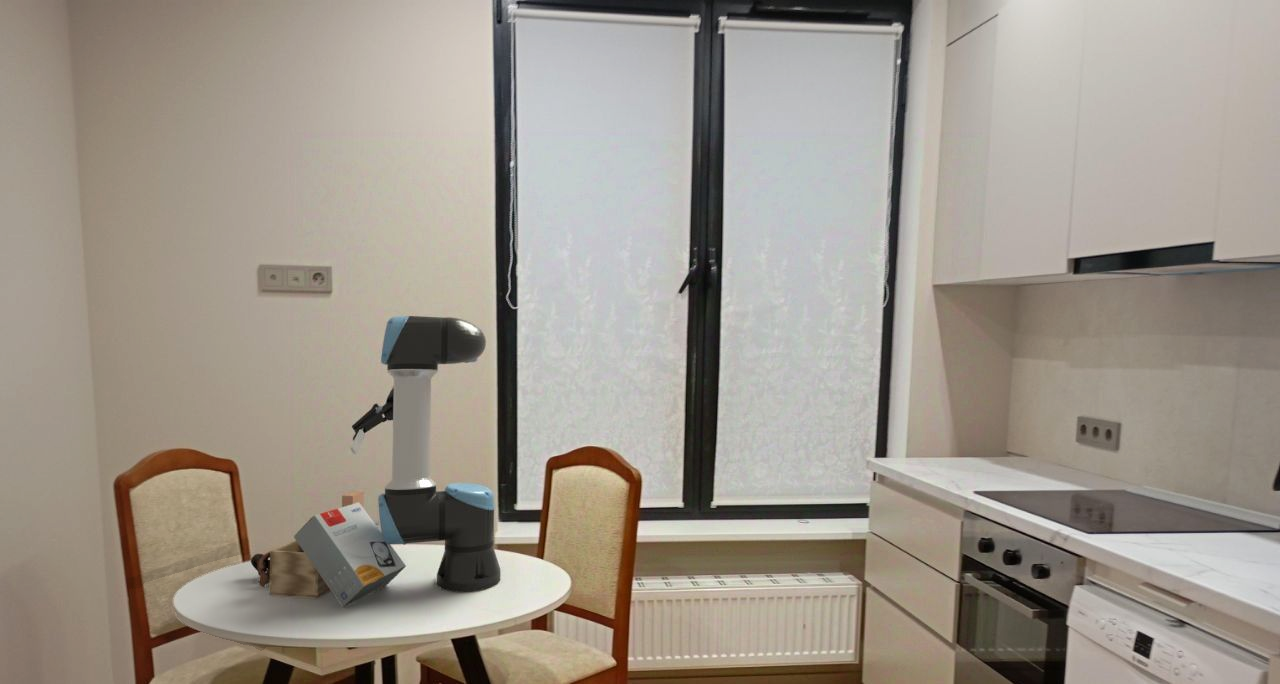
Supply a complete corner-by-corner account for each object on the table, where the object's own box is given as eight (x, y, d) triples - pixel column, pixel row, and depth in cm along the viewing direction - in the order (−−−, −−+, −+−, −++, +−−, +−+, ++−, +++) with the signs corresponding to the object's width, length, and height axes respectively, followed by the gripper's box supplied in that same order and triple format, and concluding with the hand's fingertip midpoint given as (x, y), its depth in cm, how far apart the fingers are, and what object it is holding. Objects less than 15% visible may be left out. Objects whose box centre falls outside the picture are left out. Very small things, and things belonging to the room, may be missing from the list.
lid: (379, 524, 175) (380, 492, 175) (348, 539, 160) (348, 505, 160) (335, 521, 176) (336, 490, 177) (300, 536, 162) (301, 503, 162)
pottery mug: (307, 575, 166) (305, 551, 162) (281, 604, 158) (278, 580, 154) (264, 560, 167) (261, 537, 163) (236, 589, 159) (232, 564, 155)
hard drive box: (364, 587, 142) (311, 515, 146) (342, 609, 143) (290, 538, 147) (407, 564, 157) (358, 500, 161) (387, 585, 158) (339, 521, 162)
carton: (353, 577, 163) (353, 536, 163) (317, 598, 149) (318, 554, 149) (308, 574, 165) (309, 534, 165) (269, 595, 151) (270, 551, 151)
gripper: (446, 403, 199) (422, 461, 184) (369, 401, 203) (339, 458, 188) (439, 386, 194) (413, 444, 179) (360, 385, 198) (328, 442, 182)
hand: (375, 451), depth 183 cm, fingers open, 13 cm apart
